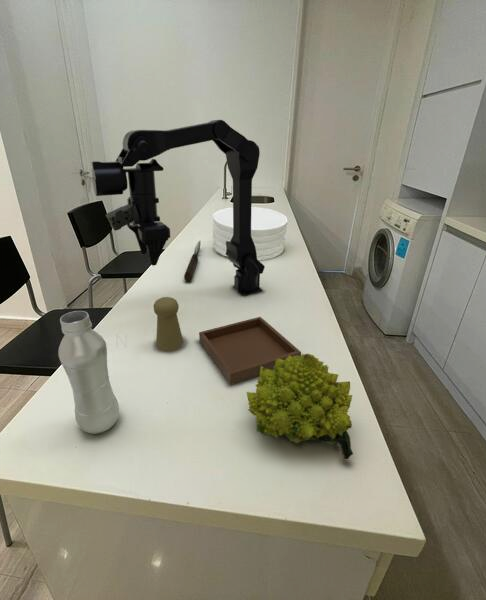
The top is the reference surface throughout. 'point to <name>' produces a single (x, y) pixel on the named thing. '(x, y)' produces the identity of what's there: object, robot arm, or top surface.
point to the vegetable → (302, 402)
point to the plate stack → (252, 231)
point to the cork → (167, 325)
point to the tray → (245, 348)
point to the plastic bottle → (87, 373)
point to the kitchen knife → (192, 264)
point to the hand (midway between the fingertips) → (148, 259)
